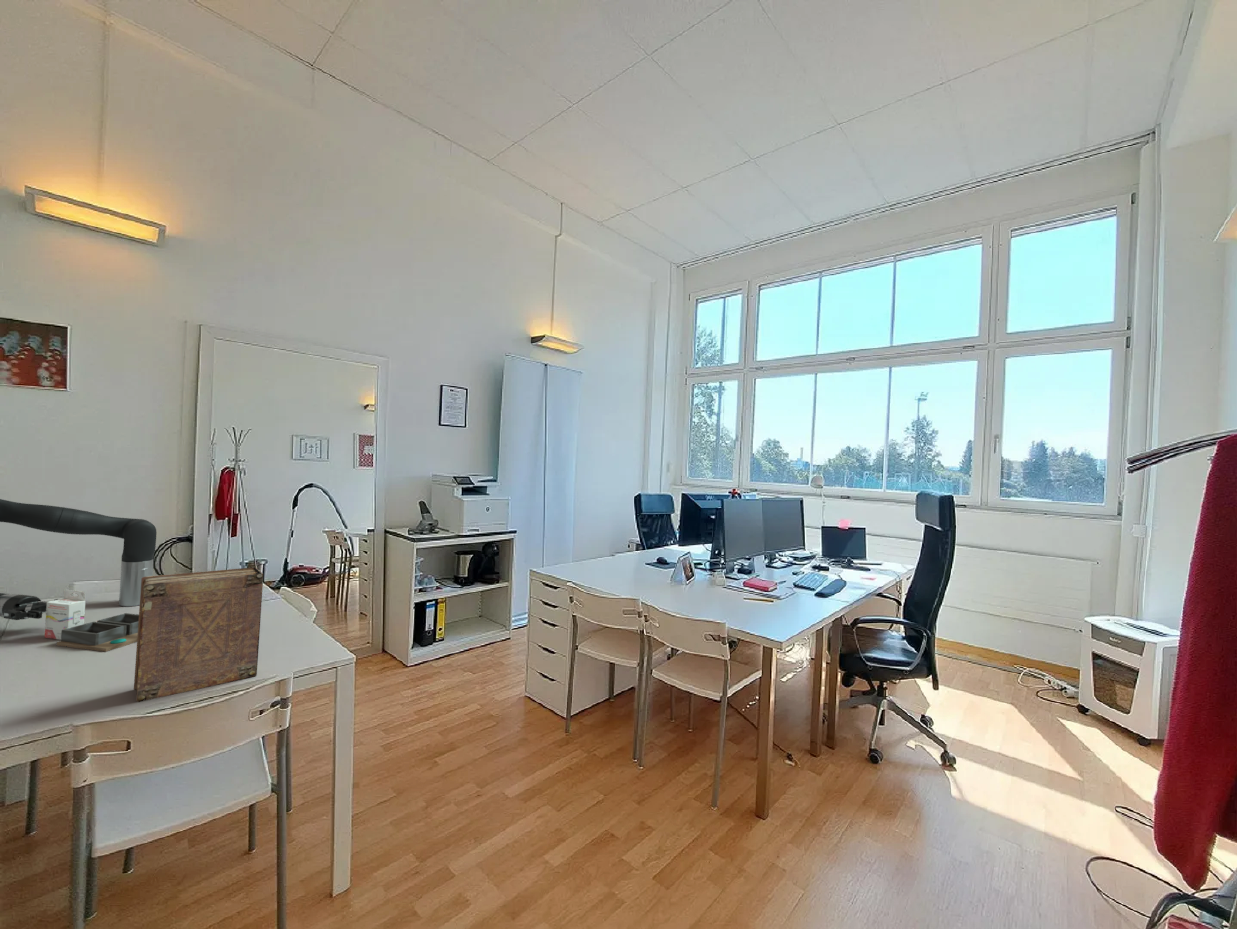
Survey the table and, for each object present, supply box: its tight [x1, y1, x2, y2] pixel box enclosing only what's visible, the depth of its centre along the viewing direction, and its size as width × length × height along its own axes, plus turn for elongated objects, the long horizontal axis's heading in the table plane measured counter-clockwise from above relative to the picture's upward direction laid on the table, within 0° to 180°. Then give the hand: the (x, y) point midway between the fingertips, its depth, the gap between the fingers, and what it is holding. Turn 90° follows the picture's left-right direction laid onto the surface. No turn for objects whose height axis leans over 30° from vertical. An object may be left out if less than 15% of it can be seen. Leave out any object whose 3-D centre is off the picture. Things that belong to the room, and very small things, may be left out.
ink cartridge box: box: [44, 589, 86, 641], centre depth 162 cm, size 9×5×15 cm, turn 84°
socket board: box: [56, 612, 139, 653], centre depth 164 cm, size 20×18×4 cm
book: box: [133, 566, 264, 703], centre depth 138 cm, size 25×9×30 cm, turn 136°
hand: (57, 611), depth 162 cm, fingers open, 8 cm apart
